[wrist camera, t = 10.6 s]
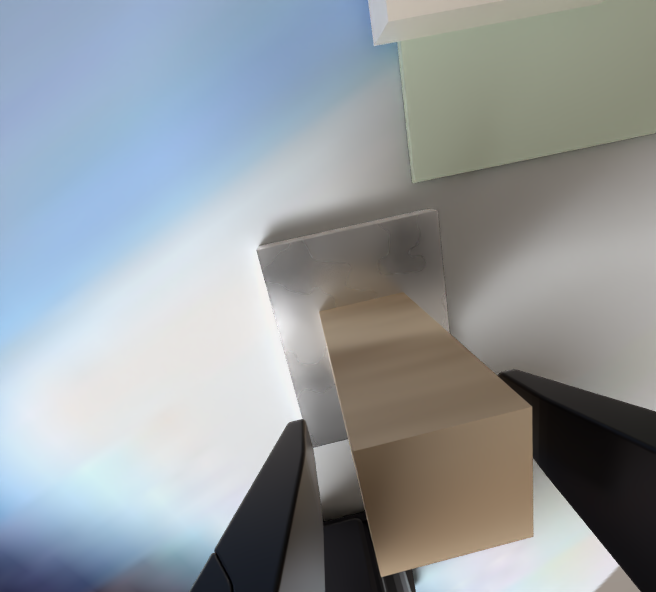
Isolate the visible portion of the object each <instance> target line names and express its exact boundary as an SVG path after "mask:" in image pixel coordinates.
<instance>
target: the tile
mask: <svg viewBox="0 0 656 592" xmlns="http://www.w3.org/2000/svg"><path fill="white" fill-rule="evenodd" d="M603 1H605V0H368V4H369V12H370V20H371V27H372V35H373V43H374V46H378V45H383V44H388V43H394V42H399V41H404V40H410V39H415V38H420V37H426V36H431V35H436V34H442V33H447V32H452V31H458V30H463V29H468V28H474V27H479V26H484V25H490V24H495V23H500V22H506V21H511V20H516V19H522V18H527V17H532V16H538V15H543V14H548V13H554V12H559V11H564V10H570V9H575V8H580V7H586V6H591V5H596V4H600V3H602V2H603Z"/></svg>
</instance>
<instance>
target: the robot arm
mask: <svg viewBox="0 0 656 592" xmlns="http://www.w3.org/2000/svg"><path fill="white" fill-rule="evenodd" d="M498 377H499V378H500V379H502V380H503V381H504V382H505V383H506V384H507V385H508V386H509V387H511V388H512V389H513V390H514V391H515V392H516V393H517V394H518V395H520V396H521V397H522V398H523V399H524V400H525V401H526V402H527V403H529V404H530V405H531V406H532V444H533V458H534V460H535V461H536V462H537V464H538V465H539V467H540V468H541V469H542V470H543V472H544V473H545V474H546V476H547V477H548V478H549V479H550V480H551V482H552V483H553V484H554V485H555V487H556V488H557V489H558V490H559V492H560V493H561V494H562V495H563V496H564V498H565V499H566V500H567V501H568V503H569V504H570V505H571V506H572V508H573V509H574V510H575V511H576V512H577V514H578V515H579V516H580V517H581V519H582V520H583V521H584V522H585V524H586V525H587V526H588V527H589V528H590V530H591V531H592V532H593V533H594V535H595V536H596V537H597V538H598V540H599V541H600V542H601V543H602V544H603V546H604V547H605V548H606V549H607V551H608V552H609V553H610V554H611V556H612V557H613V558H614V559H615V560H616V562H617V563H618V564H619V565H620V567H621V568H622V569H623V570H624V571H625V573H626V574H627V575H628V576H629V578H630V579H631V580H632V581H633V583H634V584H635V585H636V586H637V587H638V589H639V590H640V591H641V592H656V412H655V411H652V410H649V409H645V408H642V407H639V406H635V405H632V404H629V403H625V402H622V401H619V400H616V399H612V398H609V397H606V396H602V395H599V394H596V393H592V392H589V391H586V390H582V389H579V388H576V387H572V386H569V385H566V384H562V383H559V382H556V381H553V380H549V379H546V378H543V377H539V376H536V375H533V374H529V373H526V372H523V371H519V370H515V369H513V370H509V371H505V372H501V373H499V374H498ZM214 551H215V553H212V554H211V556H210V557H209V559H208V561H207V563H206V564H205V566H204V568H203V569H202V571H201V573H200V575H199V576H198V578H197V579H196V581H195V583H194V584H193V586H192V588H191V589H190V591H189V592H416V591H415V585H414V579H413V573H412V569H410V570H406V571H402V572H399V573H395V574H391V575H387V576H384V577H381V575H380V571H379V567H378V562H377V558H376V554H375V550H374V546H373V541H372V537H371V533H370V529H369V524H368V520H367V516H366V512H362V513H358V514H354V515H350V516H346V517H342V518H338V519H334V520H330V521H326V522H323V516H322V507H321V500H320V493H319V486H318V479H317V472H316V465H315V457H314V451H313V446H312V442H311V439H310V435H309V431H308V427H307V423H306V421H305V420H304V419H301V420H297V421H292V422H289V423H288V424H287V426H286V428H285V429H284V431H283V433H282V434H281V436H280V438H279V440H278V441H277V443H276V445H275V446H274V448H273V450H272V452H271V453H270V455H269V457H268V458H267V460H266V462H265V464H264V465H263V467H262V469H261V470H260V472H259V474H258V476H257V477H256V479H255V481H254V482H253V484H252V486H251V488H250V489H249V491H248V493H247V494H246V496H245V498H244V500H243V501H242V503H241V505H240V506H239V508H238V510H237V512H236V513H235V515H234V517H233V518H232V520H231V522H230V524H229V525H228V527H227V529H226V530H225V532H224V534H223V536H222V537H221V539H220V541H219V542H218V544H217V546H216V548H215V550H214Z"/></svg>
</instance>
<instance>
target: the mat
mask: <svg viewBox="0 0 656 592" xmlns="http://www.w3.org/2000/svg"><path fill="white" fill-rule="evenodd" d="M397 45H398V55H399V64H400V73H401V83H402V92H403V101H404V111H405V120H406V130H407V139H408V148H409V158H410V167H411V177H412V183H417V182H422V181H427V180H432V179H437V178H441V177H446V176H451V175H456V174H461V173H466V172H470V171H475V170H480V169H485V168H490V167H495V166H500V165H504V164H509V163H514V162H519V161H524V160H529V159H534V158H538V157H543V156H548V155H553V154H558V153H563V152H567V151H572V150H577V149H582V148H587V147H592V146H597V145H601V144H606V143H611V142H616V141H621V140H626V139H631V138H635V137H640V136H645V135H650V134H655V133H656V0H605V1H603V2H602V3H600V4H596V5H591V6H586V7H580V8H575V9H570V10H564V11H559V12H554V13H548V14H543V15H538V16H532V17H527V18H522V19H516V20H511V21H506V22H500V23H495V24H490V25H484V26H479V27H474V28H468V29H463V30H458V31H452V32H447V33H442V34H436V35H431V36H426V37H420V38H415V39H410V40H404V41H399V42H397Z"/></svg>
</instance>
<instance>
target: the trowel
mask: <svg viewBox="0 0 656 592" xmlns="http://www.w3.org/2000/svg"><path fill="white" fill-rule="evenodd" d="M257 254H258V258H259V261H260V265H261V269H262V272H263V276H264V280H265V283H266V287H267V291H268V294H269V298H270V302H271V305H272V309H273V313H274V316H275V320H276V323H277V327H278V331H279V334H280V338H281V342H282V345H283V349H284V353H285V356H286V360H287V364H288V367H289V371H290V375H291V378H292V382H293V386H294V389H295V393H296V397H297V400H298V404H299V407H300V411H301V415H302V418H303V419H304V420H305V421H306V423H307V427H308V431H309V435H310V439H311V442H312V446H313V448H314V447H318V446H322V445H326V444H330V443H334V442H338V441H342V440H346V439H348V440H349V444H350V448H351V453H352V457H353V461H354V465H355V469H356V474H357V478H358V482H359V486H360V491H361V495H362V499H363V503H364V507H365V512H366V516H367V520H368V524H369V529H370V533H371V537H372V541H373V546H374V550H375V554H376V558H377V562H378V567H379V571H380V575H381V577H384V576H387V575H391V574H395V573H399V572H402V571H406V570H410V569H414V568H417V567H421V566H425V565H429V564H432V563H436V562H440V561H444V560H447V559H451V558H455V557H459V556H462V555H466V554H470V553H474V552H477V551H481V550H485V549H489V548H493V547H496V546H500V545H504V544H508V543H511V542H515V541H519V540H523V539H526V538H530V537H533V444H532V406H531V405H530V404H529V403H527V402H526V401H525V400H524V399H523V398H522V397H521V396H520V395H518V394H517V393H516V392H515V391H514V390H513V389H512V388H511V387H509V386H508V385H507V384H506V383H505V382H504V381H503V380H502V379H500V378H499V377H498V376H497V375H496V374H495V373H494V372H493V371H491V370H490V369H489V368H488V367H487V366H486V365H485V364H484V363H482V362H481V361H480V360H479V359H478V358H477V357H476V356H475V355H473V354H472V353H471V352H470V351H469V350H468V349H467V348H466V347H464V346H463V345H462V344H461V343H460V342H459V341H458V340H457V339H455V338H454V337H453V336H452V335H451V334H450V331H449V321H448V310H447V300H446V289H445V279H444V268H443V258H442V247H441V237H440V226H439V216H438V210H433V209H424V210H419V211H415V212H410V213H406V214H401V215H397V216H392V217H388V218H383V219H379V220H374V221H370V222H365V223H360V224H356V225H351V226H347V227H342V228H338V229H333V230H329V231H324V232H320V233H315V234H311V235H306V236H301V237H297V238H292V239H288V240H283V241H279V242H274V243H270V244H265V245H261V246H259V247H258V248H257Z"/></svg>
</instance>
